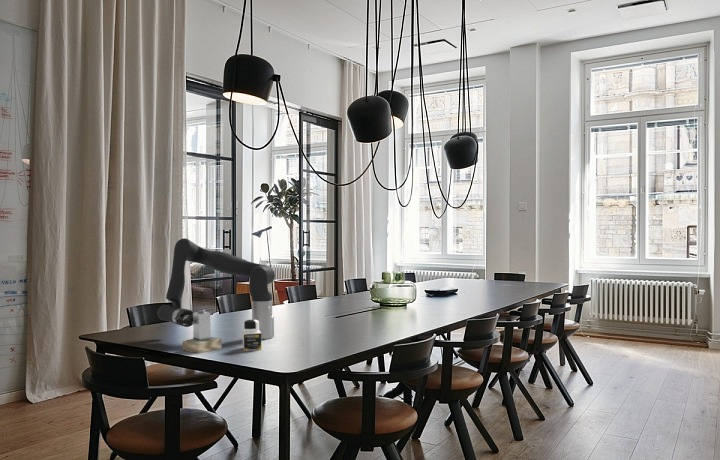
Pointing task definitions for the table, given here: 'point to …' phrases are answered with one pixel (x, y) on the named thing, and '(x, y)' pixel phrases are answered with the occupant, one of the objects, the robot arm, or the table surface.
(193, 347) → the stand
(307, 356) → the table surface
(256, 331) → the medicine bottle
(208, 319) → the housing
